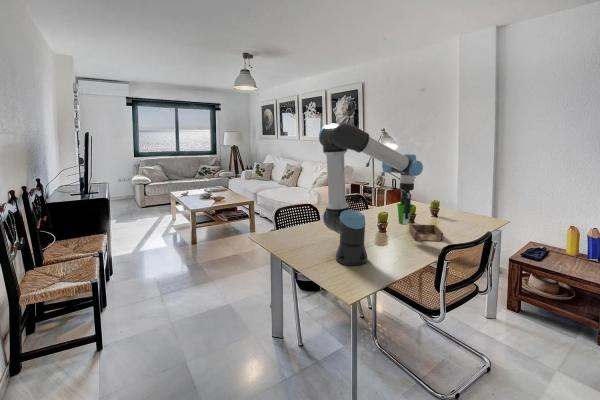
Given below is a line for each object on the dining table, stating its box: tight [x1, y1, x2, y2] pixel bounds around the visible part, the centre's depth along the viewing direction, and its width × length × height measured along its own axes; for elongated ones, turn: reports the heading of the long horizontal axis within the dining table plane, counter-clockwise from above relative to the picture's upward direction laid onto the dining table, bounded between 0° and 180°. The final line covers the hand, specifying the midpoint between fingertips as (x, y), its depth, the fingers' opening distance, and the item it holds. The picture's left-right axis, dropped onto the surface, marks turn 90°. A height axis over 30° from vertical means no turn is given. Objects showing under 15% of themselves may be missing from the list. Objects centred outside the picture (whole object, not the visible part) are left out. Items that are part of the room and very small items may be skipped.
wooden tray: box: [408, 223, 444, 242], centre depth 190 cm, size 15×16×5 cm
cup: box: [396, 202, 414, 226], centre depth 182 cm, size 9×9×11 cm
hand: (403, 222), depth 183 cm, fingers closed on cup, 9 cm apart
